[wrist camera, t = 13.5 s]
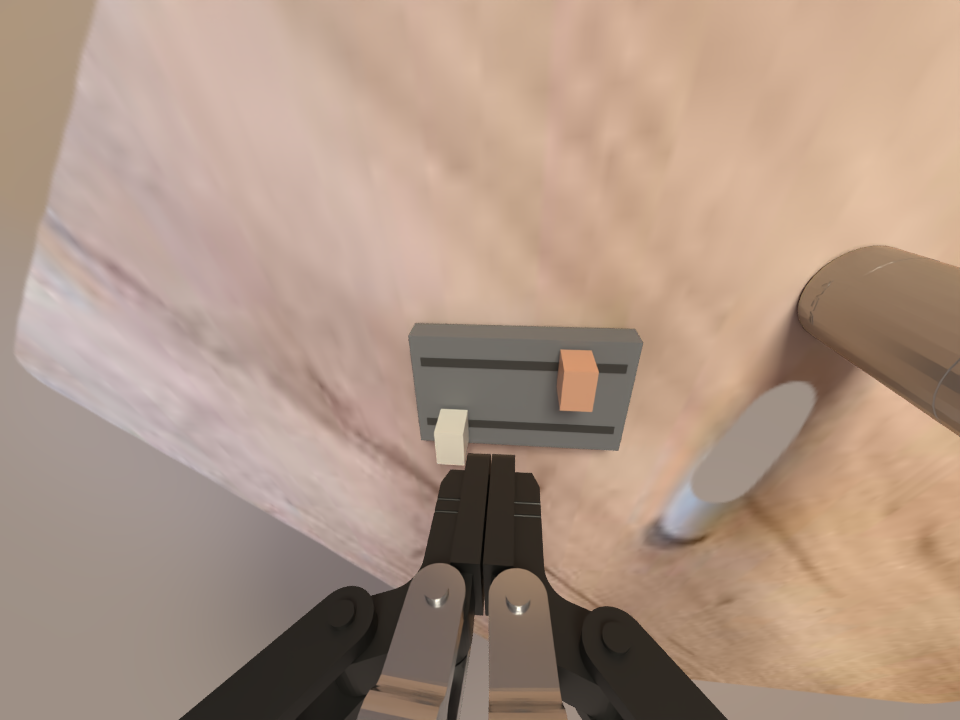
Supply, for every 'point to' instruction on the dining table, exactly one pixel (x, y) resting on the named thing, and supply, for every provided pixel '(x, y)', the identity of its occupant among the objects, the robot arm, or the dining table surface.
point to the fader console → (522, 382)
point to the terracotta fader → (577, 380)
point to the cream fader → (451, 437)
